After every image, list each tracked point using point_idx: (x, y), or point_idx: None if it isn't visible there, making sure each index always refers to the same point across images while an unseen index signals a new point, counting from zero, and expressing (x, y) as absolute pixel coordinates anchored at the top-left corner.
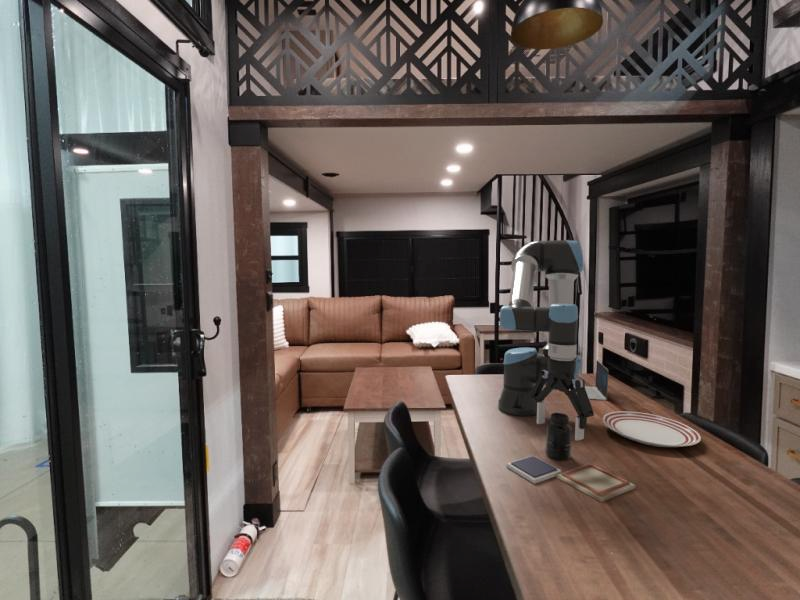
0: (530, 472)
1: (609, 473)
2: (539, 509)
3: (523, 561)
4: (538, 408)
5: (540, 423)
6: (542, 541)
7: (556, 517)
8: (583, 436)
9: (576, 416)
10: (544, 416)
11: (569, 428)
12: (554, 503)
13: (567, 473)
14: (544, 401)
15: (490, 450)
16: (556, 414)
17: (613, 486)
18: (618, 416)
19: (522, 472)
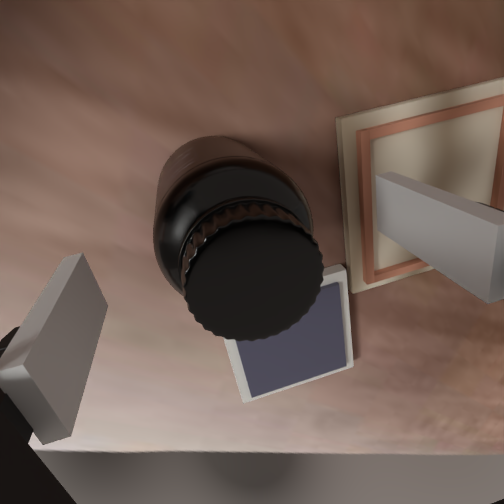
0: (324, 368)
1: (449, 118)
2: (429, 385)
3: (498, 443)
4: (78, 391)
5: (99, 291)
6: (489, 410)
7: (464, 366)
8: (400, 177)
9: (490, 298)
10: (73, 282)
11: (305, 211)
12: (431, 349)
13: (372, 266)
14: (8, 371)
15: (111, 408)
16: (228, 297)
17: (500, 176)
18: None
19: (306, 380)
